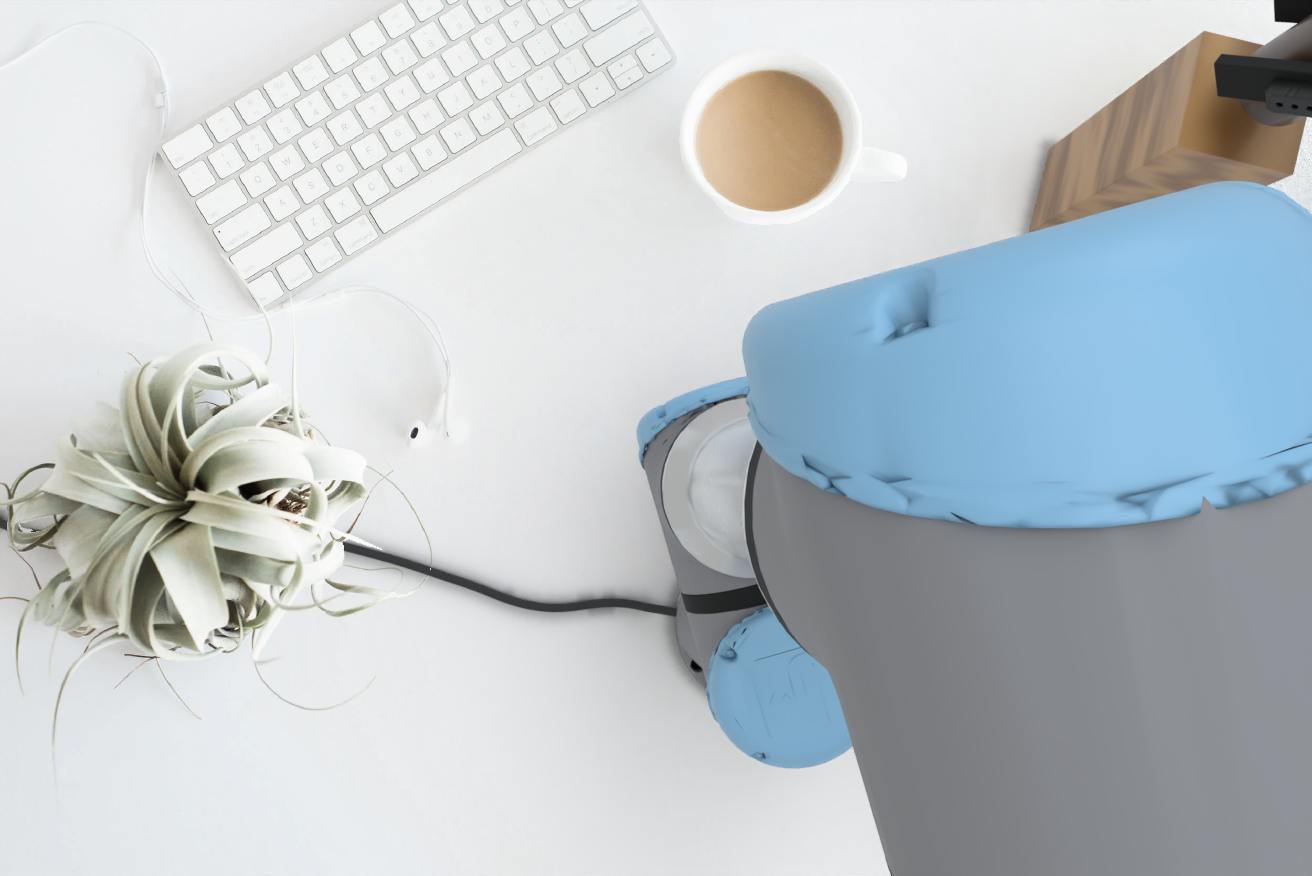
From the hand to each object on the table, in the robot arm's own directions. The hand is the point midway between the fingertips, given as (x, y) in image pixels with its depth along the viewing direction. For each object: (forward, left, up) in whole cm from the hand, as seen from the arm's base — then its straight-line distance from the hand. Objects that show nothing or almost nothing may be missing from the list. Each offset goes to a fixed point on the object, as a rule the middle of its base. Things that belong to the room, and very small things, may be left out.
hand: (1249, 37), depth 51 cm
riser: (+3, -1, -26) cm, 27 cm away
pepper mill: (+3, -1, -2) cm, 4 cm away
